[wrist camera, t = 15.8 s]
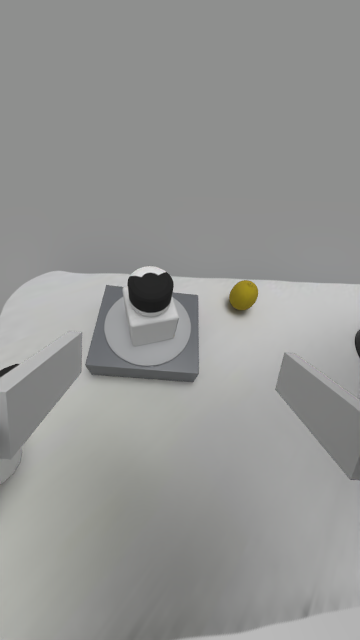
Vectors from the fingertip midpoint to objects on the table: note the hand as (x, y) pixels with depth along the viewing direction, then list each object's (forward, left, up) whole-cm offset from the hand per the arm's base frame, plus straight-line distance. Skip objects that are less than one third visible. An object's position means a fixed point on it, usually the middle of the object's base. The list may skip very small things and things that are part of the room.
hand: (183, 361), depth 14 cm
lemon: (-16, -24, -27) cm, 39 cm away
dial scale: (+3, -14, -26) cm, 30 cm away
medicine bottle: (+3, -14, -21) cm, 26 cm away
